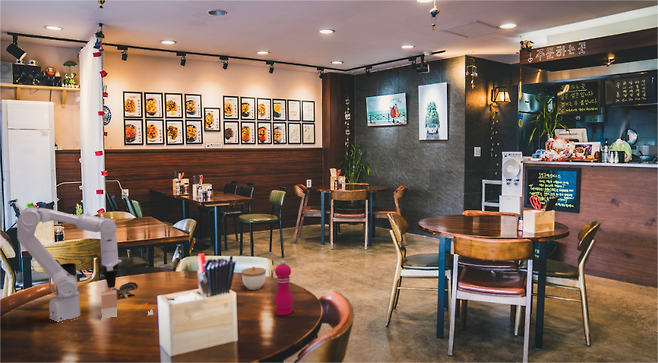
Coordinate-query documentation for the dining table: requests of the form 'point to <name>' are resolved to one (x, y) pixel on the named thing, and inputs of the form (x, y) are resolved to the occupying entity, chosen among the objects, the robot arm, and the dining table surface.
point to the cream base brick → (109, 312)
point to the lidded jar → (253, 277)
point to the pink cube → (109, 299)
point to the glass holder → (69, 268)
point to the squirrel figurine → (126, 289)
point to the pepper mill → (283, 290)
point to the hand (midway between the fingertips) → (111, 284)
